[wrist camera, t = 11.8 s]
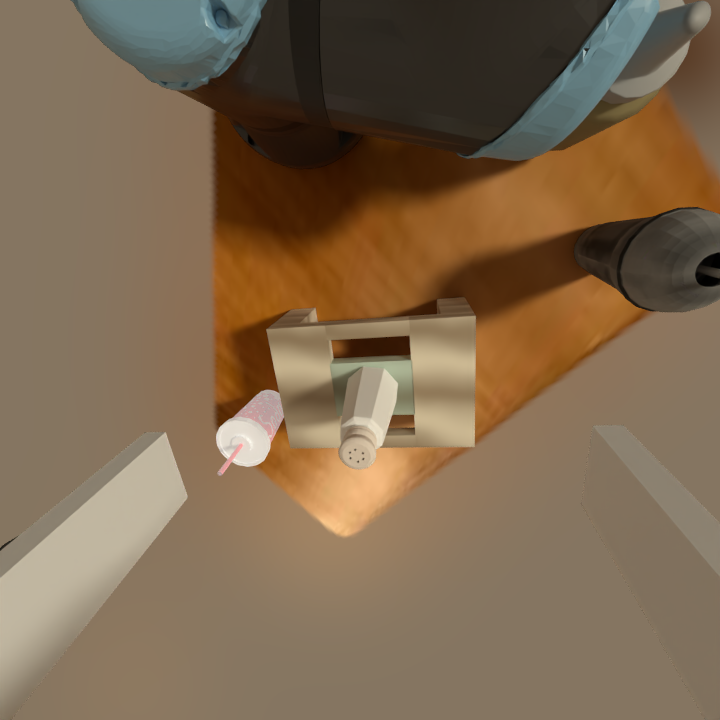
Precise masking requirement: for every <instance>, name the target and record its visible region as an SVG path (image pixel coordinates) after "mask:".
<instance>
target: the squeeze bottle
mask: <svg viewBox="0 0 720 720" xmlns="http://www.w3.org/2000/svg"><path fill="white" fill-rule="evenodd" d="M658 1H659V5H660V9H659V11H658V13H657V15H656V17H655V19H654V21H653V22H652V24H651V26H650V28H649V29H648V31H647V33H646V34H645V36H644V38H643V39H642V41H641V43H640V44H639V46H638V47H637V49H636V51H635V52H634V54H633V55H632V57H631V58H630V60H629V61H628V63H627V64H626V66H625V67H624V69H623V70H622V72H621V73H620V75H619V76H618V77H617V79H616V80H615V82H614V83H613V84H612V86H611V87H610V88H609V90H608V91H607V92H606V94H605V95H604V96H603V97H602V99H601V100H600V101H599V103H598V104H597V105H596V106H595V108H594V109H593V110H592V111H591V112H590V113H589V114H588V116H587V117H586V118H585V119H584V120H583V121H582V123H581V124H580V125H579V126H578V127H577V128H576V129H575V130H574V131H573V132H572V133H571V134H569V135H568V136H567V137H566V138H565V139H564V140H563V141H561V142H560V143H559V144H558V145H556V146H555V147H553V148H552V149H551V150H549V151H554V150H564V149H566V148H568V147H570V146H572V145H574V144H576V143H578V142H580V141H583V140H585V139H587V138H589V137H591V136H593V135H595V134H597V133H599V132H601V131H603V130H605V129H607V128H609V127H611V126H613V125H615V124H617V123H619V122H621V121H623V120H625V119H627V118H629V117H631V116H633V115H635V114H637V113H638V112H639V111H640V110H641V109H642V108H643V107H644V106H646V105H647V104H648V103H649V102H650V101H651V100H652V99H653V98H654V97H655V96H656V95H657V94H658V92H659V90H660V89H661V87H662V86H663V85H664V84H665V83H666V82H667V81H668V80H669V79H670V78H671V77H672V76H673V75H674V74H675V73H676V71H677V70H678V68H679V66H680V65H681V63H682V61H683V60H684V58H685V56H686V55H687V51H688V47H689V44H690V40H691V39H692V38H693V37H694V36H695V35H696V34H698V33H699V32H700V31H701V30H702V29H703V28H704V27H705V26H706V24H707V23H708V21H709V19H710V15H711V7H710V5H709V4H708V3H707V2H705V1H697V2H694V3H690V4H686V5H685V3H684V2H683V0H658Z"/></svg>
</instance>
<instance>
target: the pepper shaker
mask: <svg viewBox="0 0 720 720" xmlns="http://www.w3.org/2000/svg"><path fill="white" fill-rule="evenodd" d="M397 389H398V383H397V382H396V381H395V380H394V378H393V377H392V376H391V375H390V374H389V373H388V372H387V371H386V370H385V369H384V368H375V367H365V366H363V367H362V368H361V369H359V370H358V371H357V372H356V373H354V374H353V375H352V376H351V377H349V378H348V382H347V388H346V394H345V401H344V407H343V413H342V419H341V432H340V441H341V442H342V443H341V445H340V447H339V457H340V459H341V460H342V462H343V463H344V464H345V465H347V466H348V467H350V468H353V469H365V468H368V467H369V466H371V465H372V464H373V463H374V461H375V459H376V449H378V448H379V447H381V446H382V444H383V442H384V439H385V436H386V433H387V430H388V426H389V423H390V420H391V417H392V414H393V411H394V407H395V404H396V400H397Z"/></svg>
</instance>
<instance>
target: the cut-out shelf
mask: <svg viewBox="0 0 720 720" xmlns="http://www.w3.org/2000/svg"><path fill="white" fill-rule="evenodd" d="M266 331H267V336H268V340H269V345H270V350H271V355H272V360H273V365H274V370H275V375H276V379H277V384H278V389H279V394H280V399H281V404H282V409H283V414H284V418H285V423H286V428H287V433H288V438H289V443H290V448H339V447H340V445H341V443H342V442H341V441H340V432H341V419H342V413H343V407H344V401H345V394H346V388H347V382H348V378H349V377H351V376H352V375H353V374H354V373H356V372H357V371H358V370H359V369H361V368H362V367H363V366H365V367H375V368H384V369H385V370H386V371H387V372H388V373H389V374H390V375H391V376H392V377H393V378H394V380H395V381H396V382H397V383H398V389H397V400H396V404H395V407H394V411H393V414H392V415H414V421H415V428H388V430H387V433H386V436H385V439H384V442H383V444H382V446H381V447H379V448H393V447H474V443H475V353H476V315H475V314H474V312H473V310H472V309H471V307H470V305H469V304H468V302H467V300H466V299H465V297H458V298H444V299H437V314H432V315H417V316H402V317H386V318H371V319H356V320H341V321H325V322H318V321H317V314H316V308H306V309H293V310H290V311H289V312H288V313H286V314H285V315H284V316H282V317H281V318H280V319H279V320H277V321H276V322H275V323H274V324H272V325H271V326H270V327H269V328H267V329H266ZM394 336H410V351H411V355H395V356H374V357H353V358H333V351H332V344H331V340H342V339H359V338H377V337H394Z"/></svg>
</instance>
